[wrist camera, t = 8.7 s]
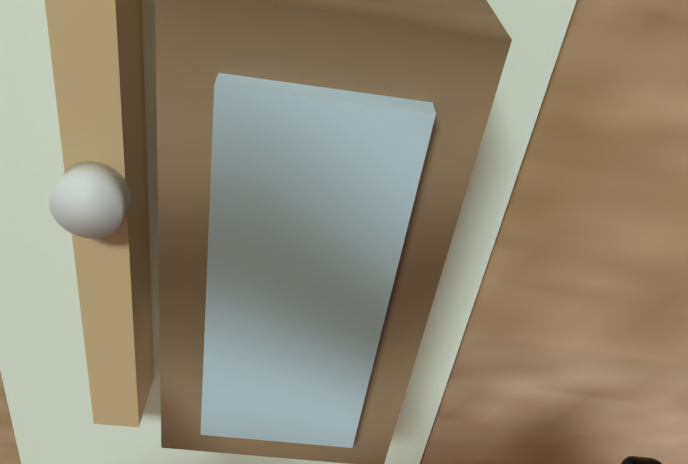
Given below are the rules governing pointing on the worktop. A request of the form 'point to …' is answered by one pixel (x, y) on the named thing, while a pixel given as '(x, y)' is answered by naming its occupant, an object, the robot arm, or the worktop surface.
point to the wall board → (142, 229)
